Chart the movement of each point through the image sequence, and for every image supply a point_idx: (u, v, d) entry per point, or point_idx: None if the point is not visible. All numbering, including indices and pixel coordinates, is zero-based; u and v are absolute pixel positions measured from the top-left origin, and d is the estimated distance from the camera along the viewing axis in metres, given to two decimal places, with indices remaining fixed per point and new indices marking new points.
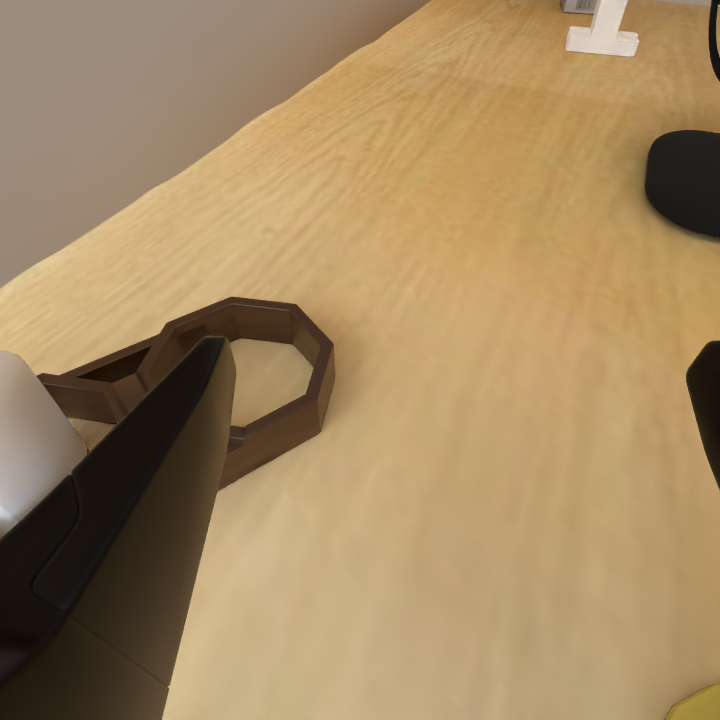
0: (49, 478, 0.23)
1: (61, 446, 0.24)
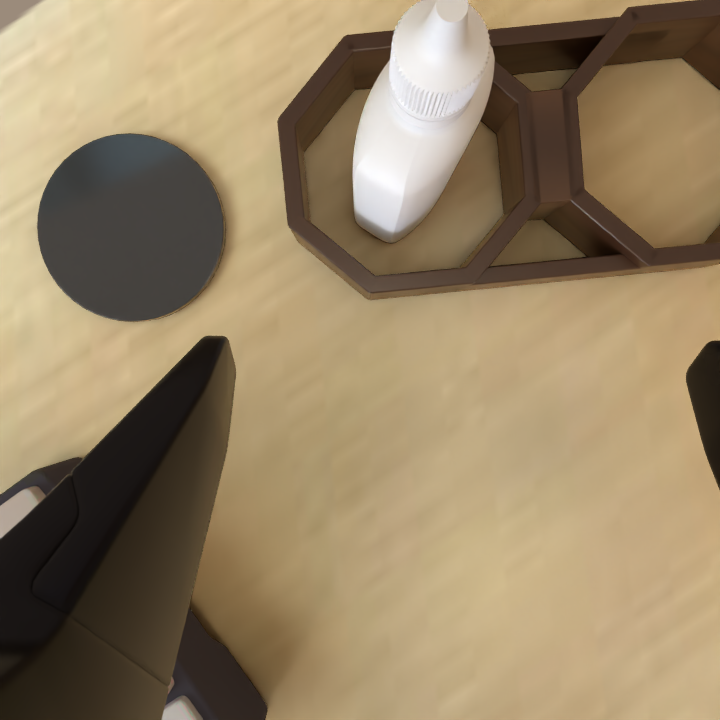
0: (433, 202, 0.20)
1: None
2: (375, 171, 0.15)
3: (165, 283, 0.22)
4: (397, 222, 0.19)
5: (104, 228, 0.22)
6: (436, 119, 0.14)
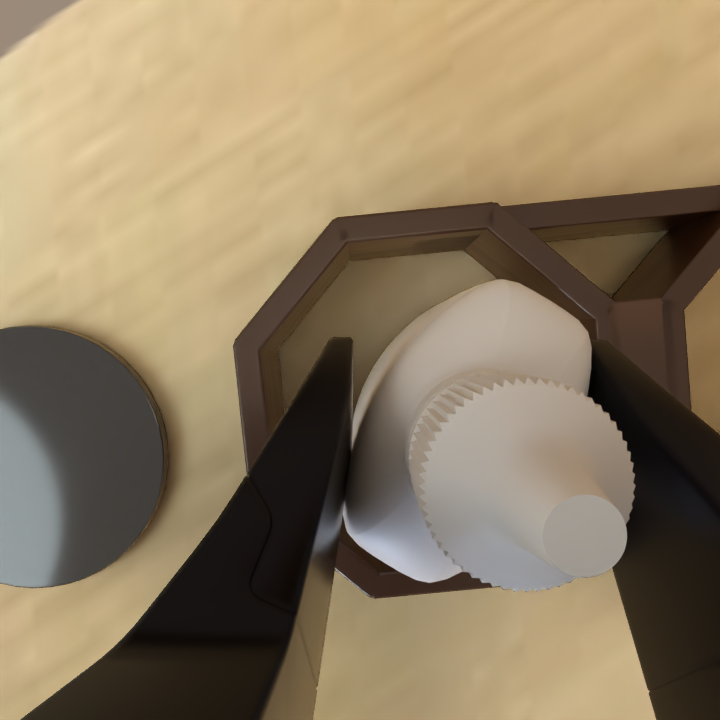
0: None
1: None
2: (379, 555, 0.09)
3: (82, 536, 0.16)
4: None
5: None
6: None
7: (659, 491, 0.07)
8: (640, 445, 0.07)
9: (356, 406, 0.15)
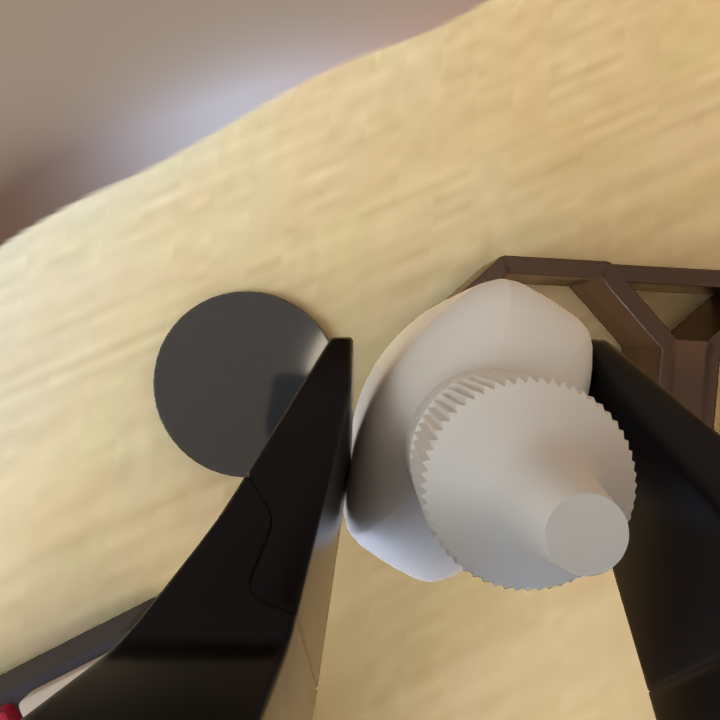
0: None
1: None
2: (380, 554, 0.08)
3: None
4: None
5: (221, 381, 0.22)
6: None
7: (659, 491, 0.07)
8: (640, 445, 0.07)
9: (357, 406, 0.15)
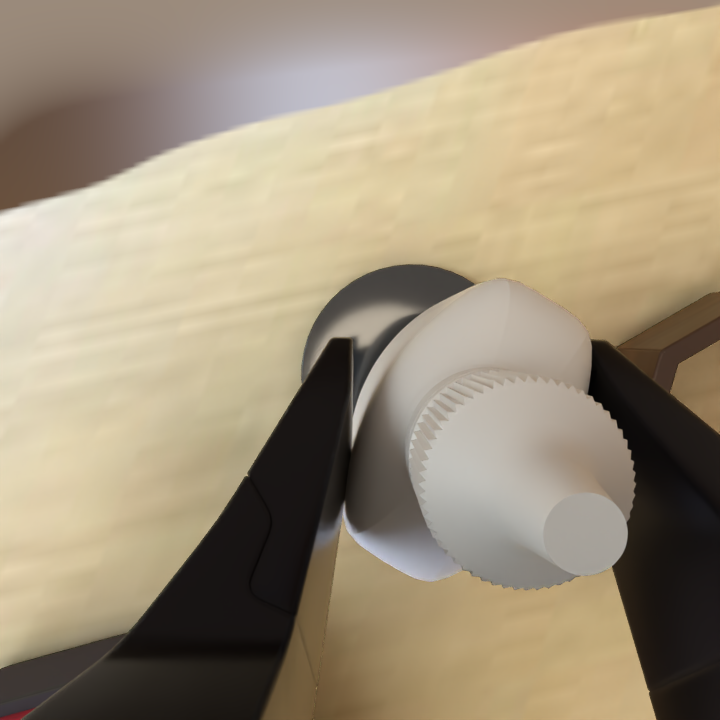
0: None
1: None
2: (380, 554, 0.08)
3: None
4: None
5: None
6: None
7: (659, 491, 0.07)
8: (640, 445, 0.07)
9: (356, 405, 0.15)
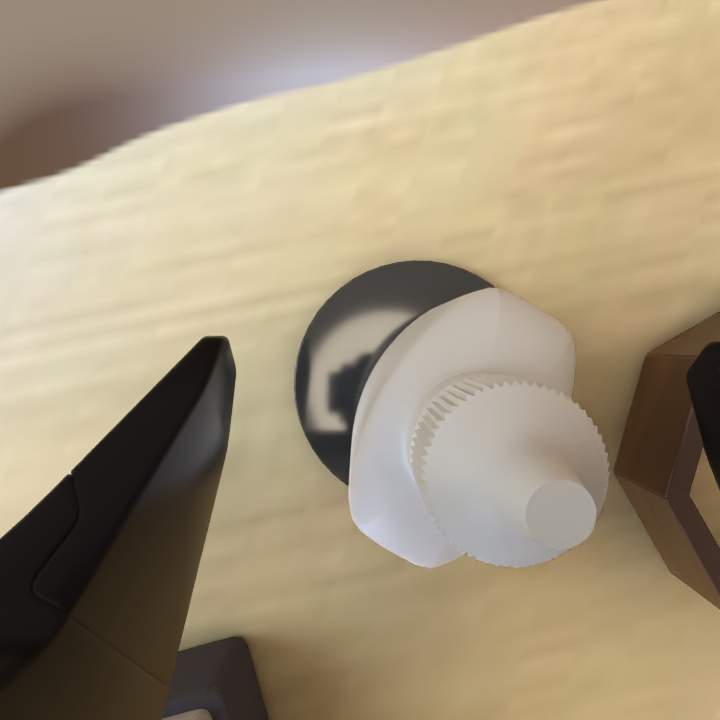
0: None
1: None
2: (384, 543, 0.09)
3: None
4: None
5: None
6: None
7: None
8: None
9: (358, 406, 0.16)
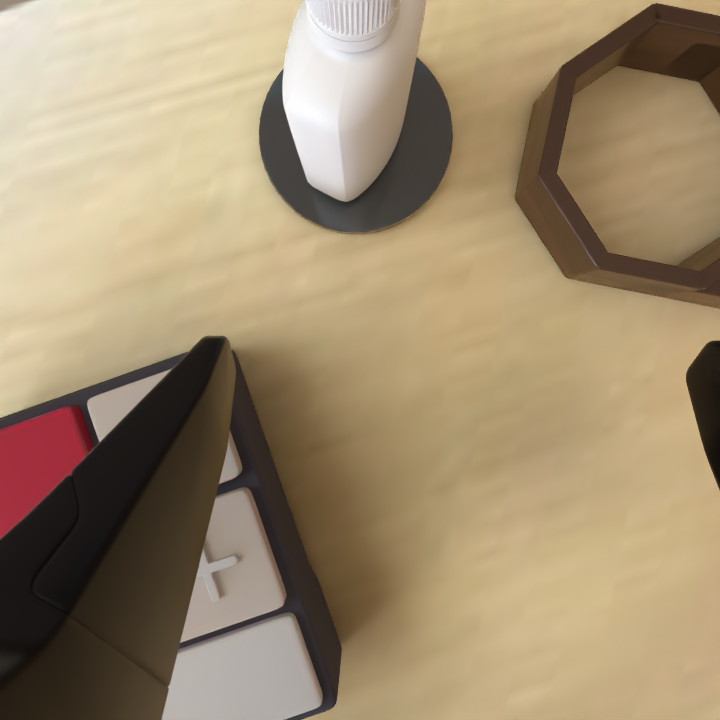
0: (384, 150, 0.19)
1: (404, 110, 0.19)
2: (304, 107, 0.14)
3: (373, 200, 0.22)
4: (343, 171, 0.17)
5: None
6: (360, 39, 0.12)
7: None
8: None
9: None
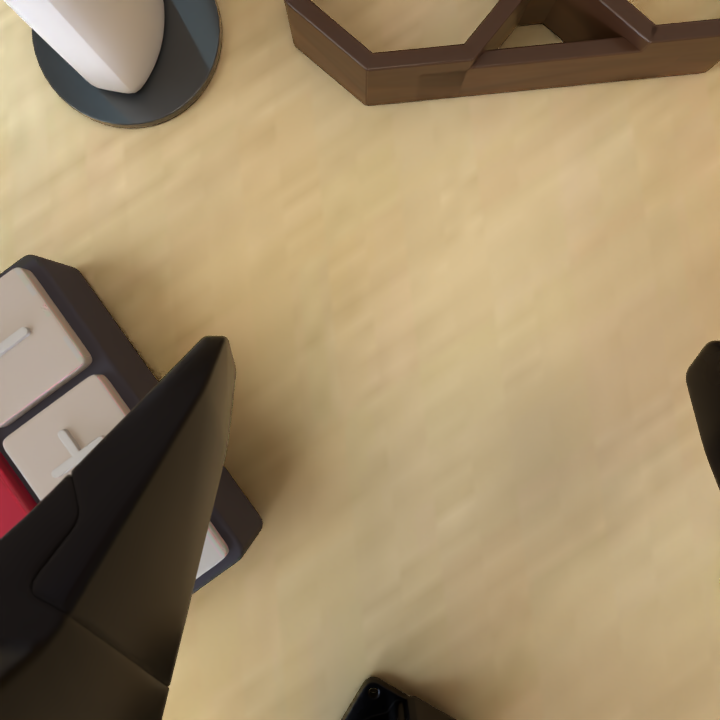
0: (133, 20, 0.20)
1: None
2: None
3: (161, 86, 0.22)
4: (84, 39, 0.18)
5: None
6: None
7: None
8: None
9: None
